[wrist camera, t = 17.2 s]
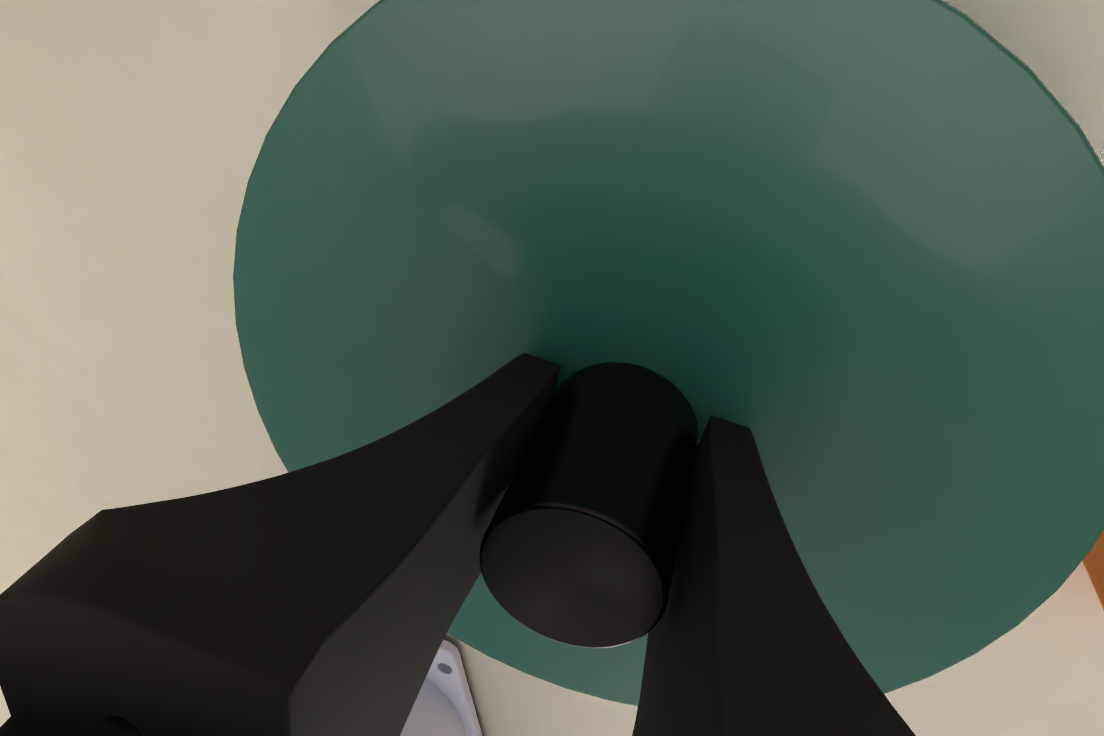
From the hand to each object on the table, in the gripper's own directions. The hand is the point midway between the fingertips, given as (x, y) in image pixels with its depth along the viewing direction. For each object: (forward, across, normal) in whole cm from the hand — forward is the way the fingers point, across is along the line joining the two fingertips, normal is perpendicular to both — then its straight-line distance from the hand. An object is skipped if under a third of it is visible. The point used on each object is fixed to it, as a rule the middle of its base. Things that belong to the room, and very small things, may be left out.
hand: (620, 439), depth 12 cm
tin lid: (+1, 0, 0) cm, 1 cm away
